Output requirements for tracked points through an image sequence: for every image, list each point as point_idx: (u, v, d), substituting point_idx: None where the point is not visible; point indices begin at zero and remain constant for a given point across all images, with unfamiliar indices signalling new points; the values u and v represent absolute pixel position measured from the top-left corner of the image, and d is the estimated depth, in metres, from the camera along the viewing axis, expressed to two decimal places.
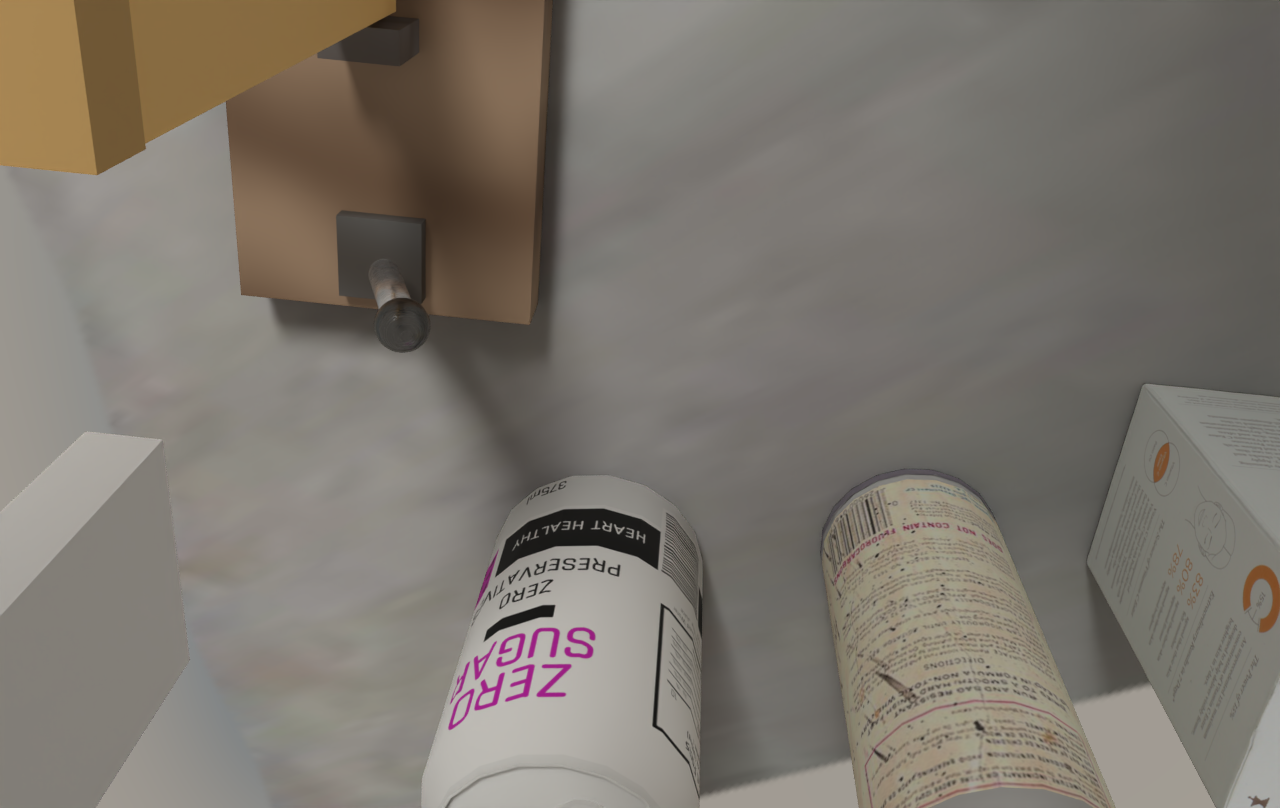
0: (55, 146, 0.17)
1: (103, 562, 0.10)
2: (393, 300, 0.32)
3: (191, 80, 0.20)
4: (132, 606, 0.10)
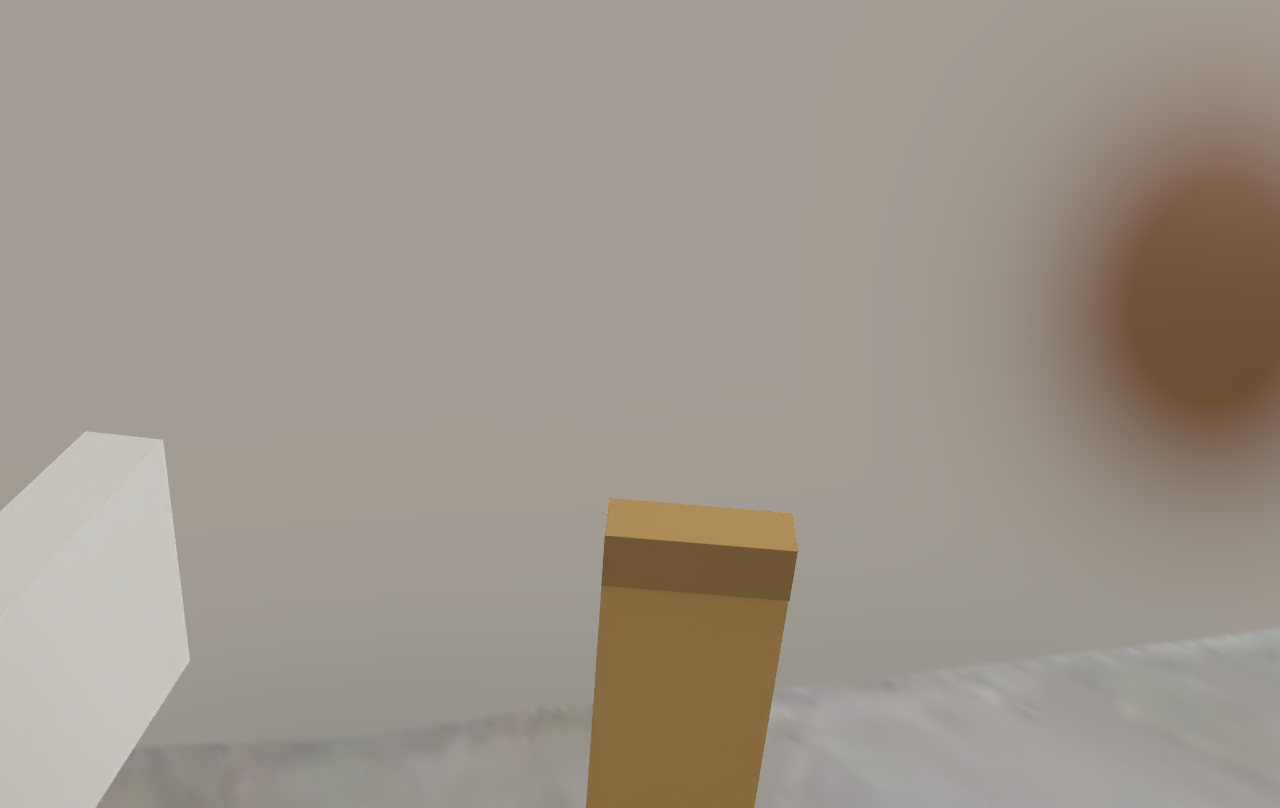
0: (620, 524, 0.29)
1: (103, 561, 0.10)
2: None
3: (620, 650, 0.31)
4: (132, 606, 0.10)
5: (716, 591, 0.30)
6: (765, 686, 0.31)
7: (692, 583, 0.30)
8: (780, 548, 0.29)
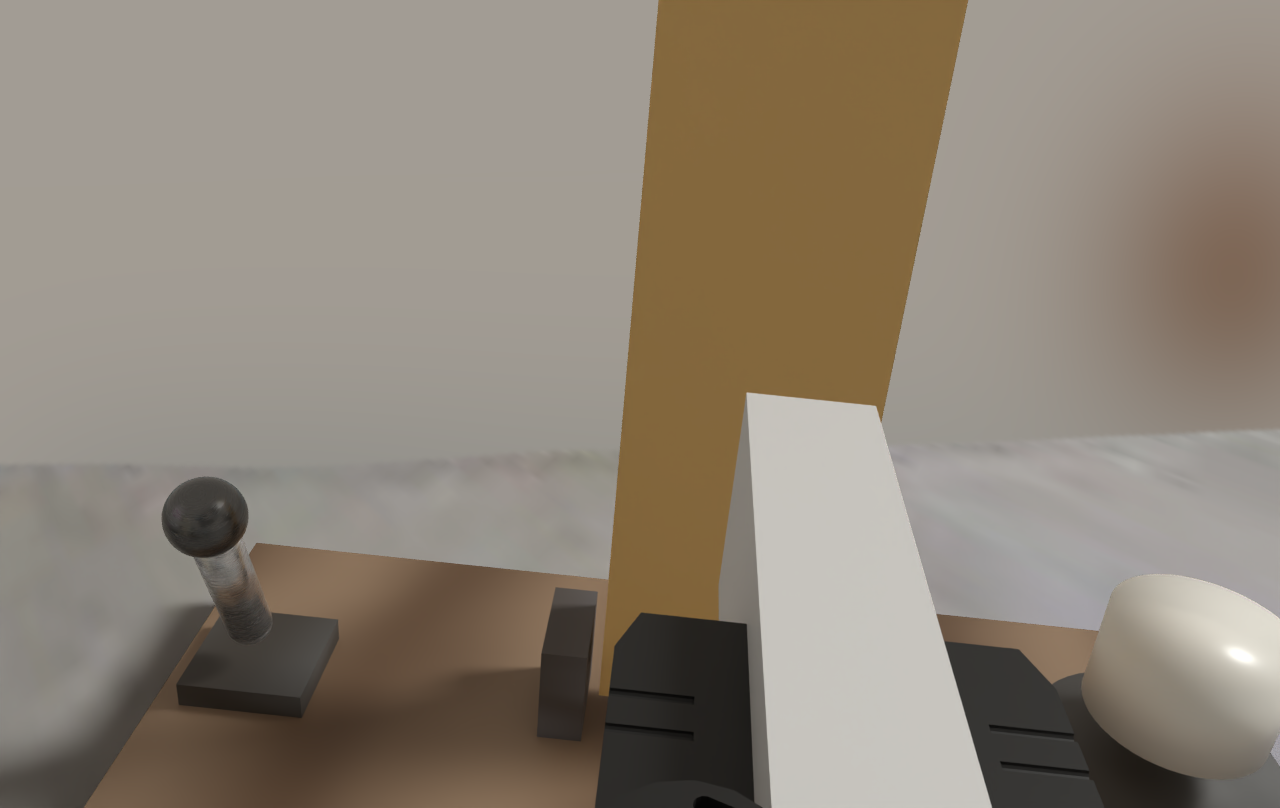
0: None
1: None
2: (247, 513, 0.22)
3: (694, 39, 0.19)
4: None
5: None
6: (930, 114, 0.19)
7: None
8: None
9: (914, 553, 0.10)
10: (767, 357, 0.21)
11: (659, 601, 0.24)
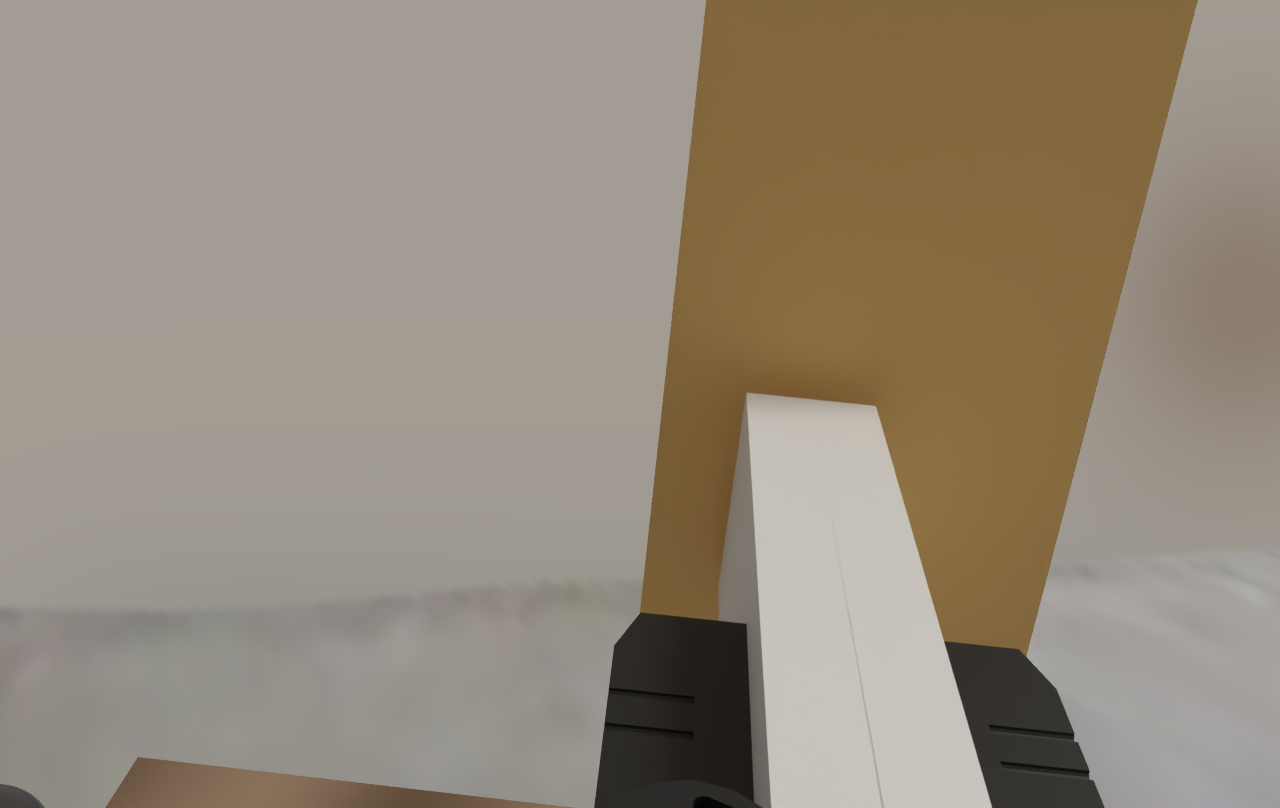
0: None
1: None
2: None
3: (755, 106, 0.12)
4: None
5: None
6: (1116, 224, 0.12)
7: None
8: None
9: (914, 553, 0.10)
10: None
11: None
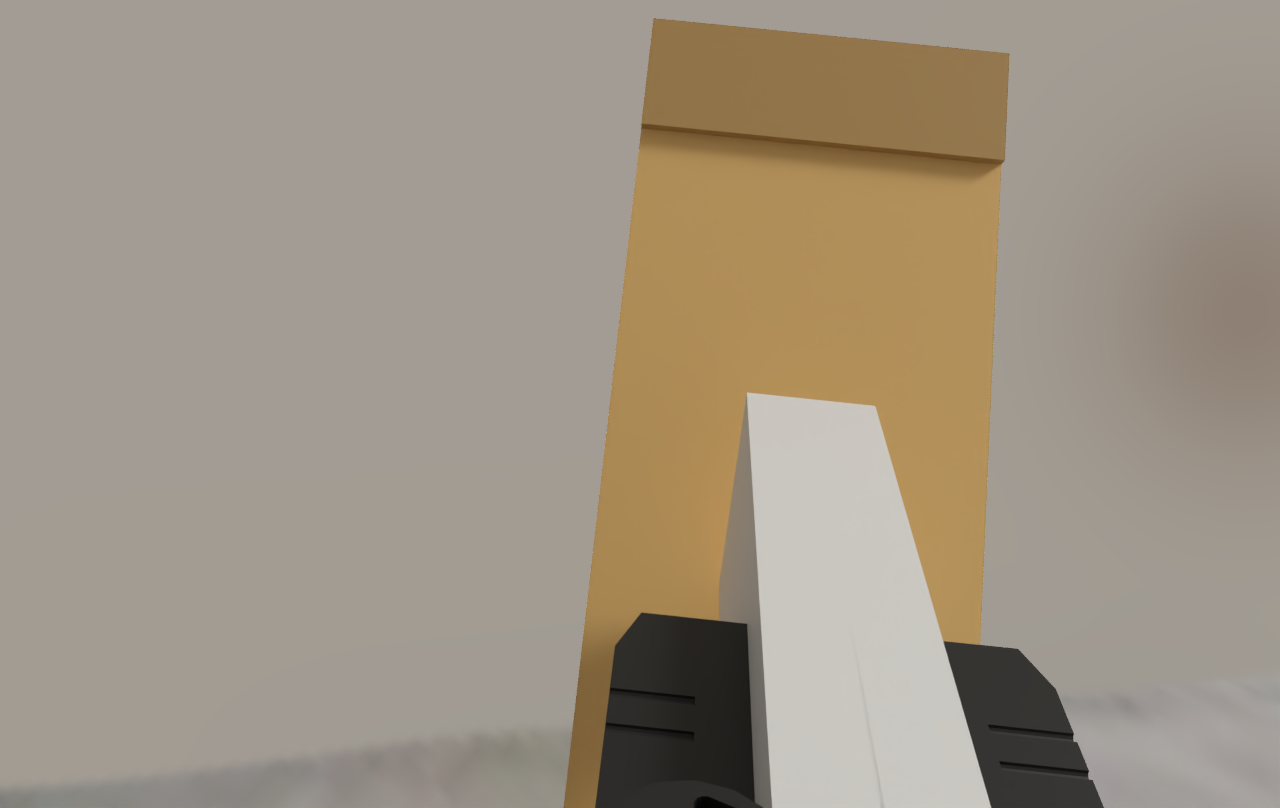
0: None
1: None
2: None
3: (671, 288, 0.15)
4: None
5: (863, 137, 0.15)
6: (973, 383, 0.15)
7: (815, 132, 0.16)
8: (976, 53, 0.16)
9: (913, 553, 0.10)
10: None
11: None
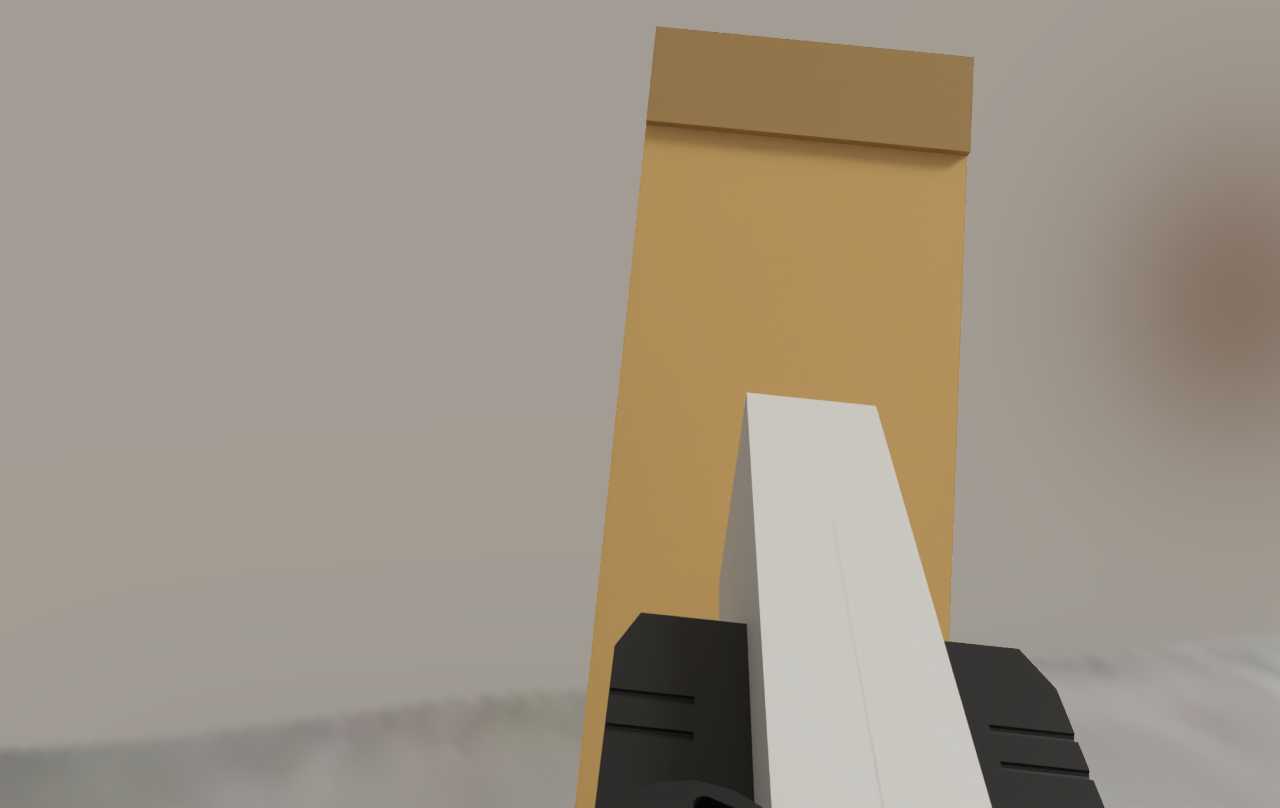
0: None
1: None
2: None
3: (675, 266, 0.17)
4: None
5: (844, 131, 0.17)
6: (943, 349, 0.17)
7: (802, 128, 0.17)
8: (944, 57, 0.18)
9: (914, 553, 0.10)
10: None
11: None
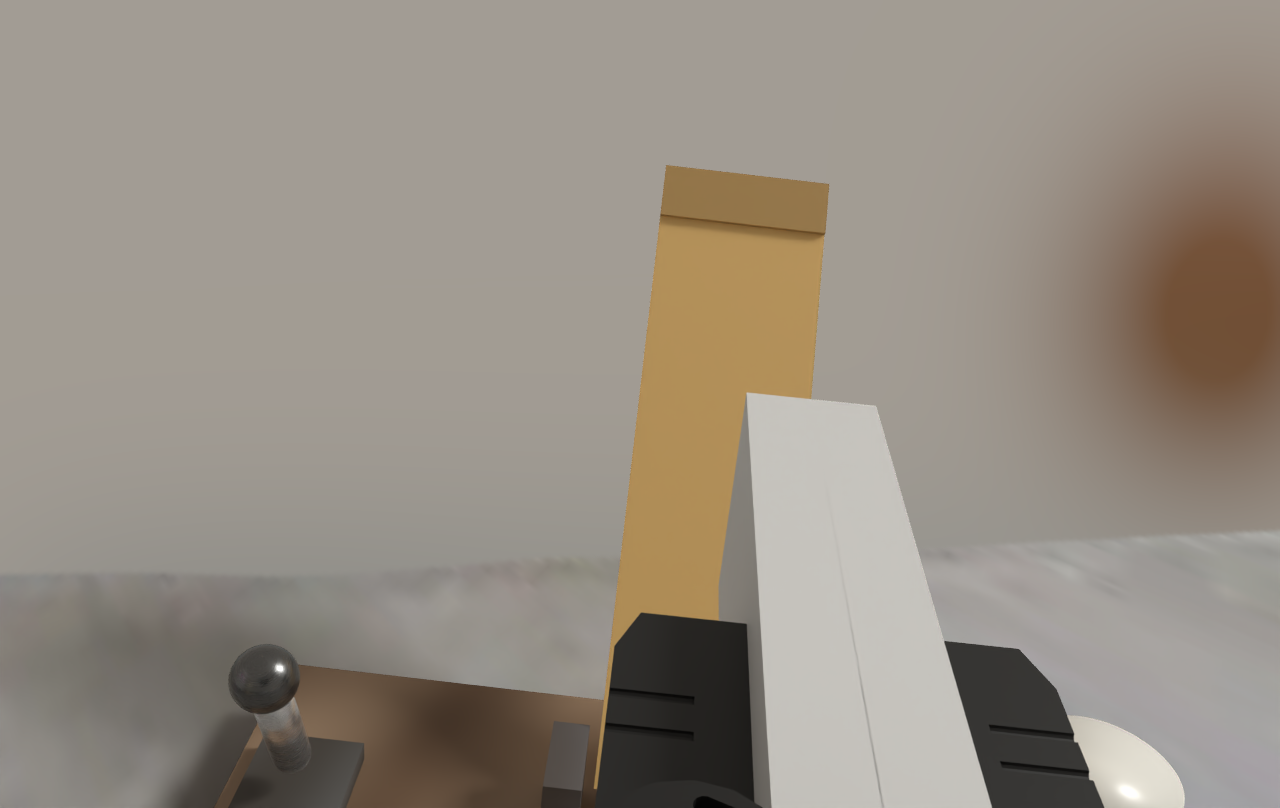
0: None
1: None
2: (299, 675, 0.27)
3: (673, 289, 0.33)
4: None
5: (761, 221, 0.34)
6: (808, 333, 0.33)
7: (740, 219, 0.34)
8: (814, 183, 0.34)
9: (914, 553, 0.10)
10: (721, 482, 0.32)
11: None
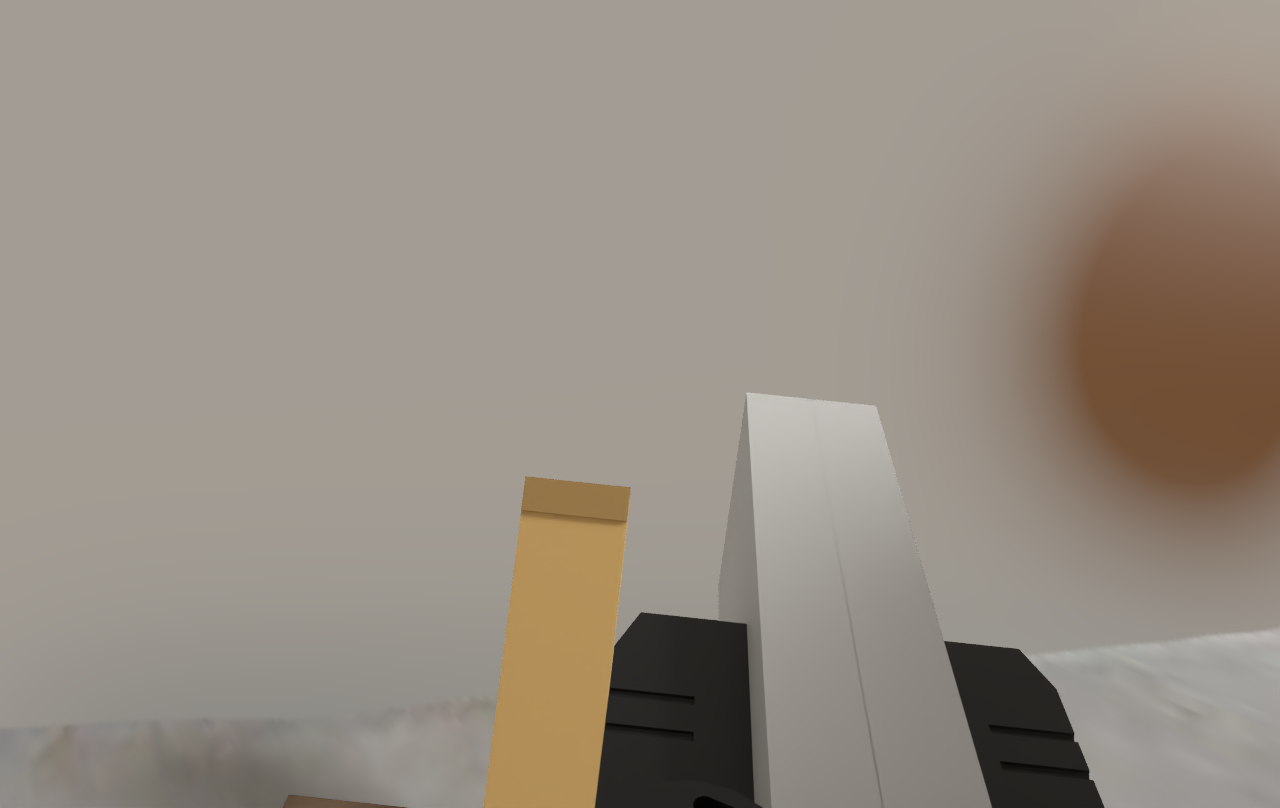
0: None
1: None
2: None
3: (529, 560, 0.52)
4: None
5: (585, 514, 0.53)
6: (614, 587, 0.52)
7: (572, 511, 0.53)
8: None
9: (914, 553, 0.10)
10: (556, 688, 0.51)
11: None
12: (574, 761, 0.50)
